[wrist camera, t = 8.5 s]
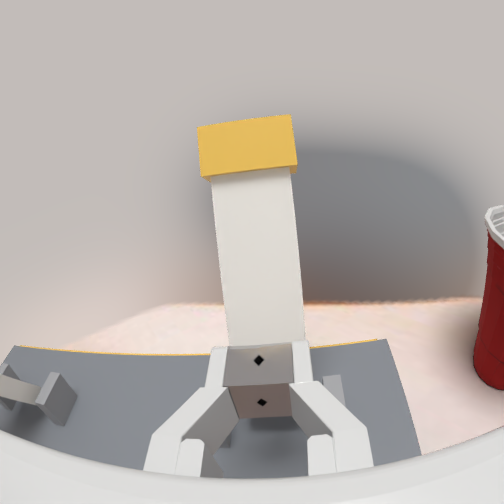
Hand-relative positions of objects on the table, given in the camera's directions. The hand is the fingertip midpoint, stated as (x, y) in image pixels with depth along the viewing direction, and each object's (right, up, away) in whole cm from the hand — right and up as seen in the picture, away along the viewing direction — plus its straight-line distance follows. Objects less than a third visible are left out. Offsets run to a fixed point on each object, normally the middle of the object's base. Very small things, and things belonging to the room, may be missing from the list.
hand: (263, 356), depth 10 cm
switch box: (-6, -11, +8) cm, 14 cm away
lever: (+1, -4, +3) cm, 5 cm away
